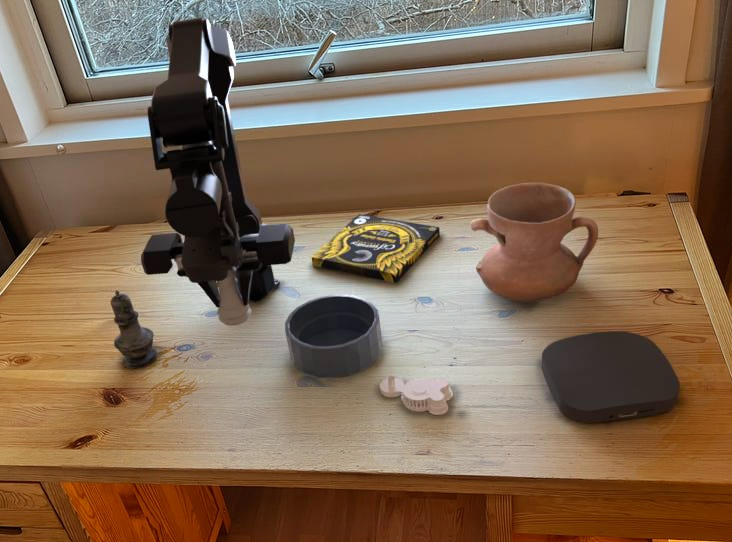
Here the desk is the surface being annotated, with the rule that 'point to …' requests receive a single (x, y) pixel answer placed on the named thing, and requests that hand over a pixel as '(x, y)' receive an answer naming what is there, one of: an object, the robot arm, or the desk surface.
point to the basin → (334, 336)
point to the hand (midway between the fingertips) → (232, 304)
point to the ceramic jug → (532, 242)
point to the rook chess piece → (231, 301)
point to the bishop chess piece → (132, 334)
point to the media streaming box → (609, 376)
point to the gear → (419, 393)
